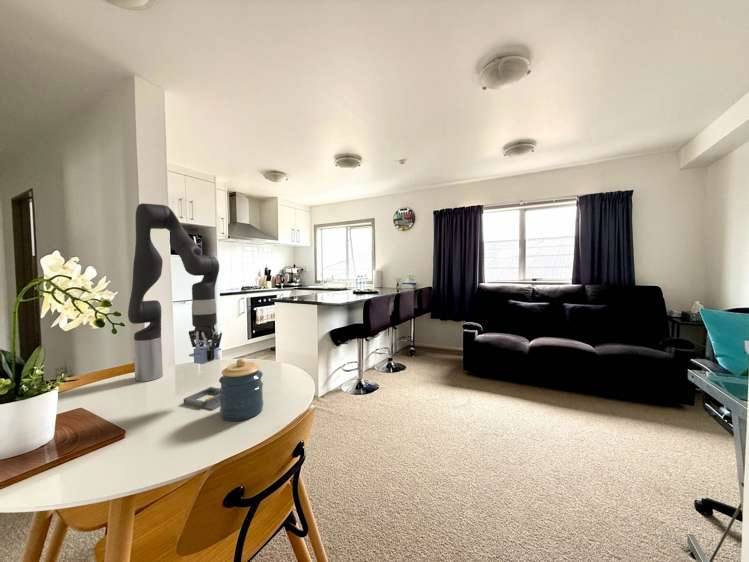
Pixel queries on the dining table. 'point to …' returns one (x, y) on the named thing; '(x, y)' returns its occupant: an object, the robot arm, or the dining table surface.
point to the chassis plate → (208, 403)
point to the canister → (241, 391)
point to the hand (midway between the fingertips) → (206, 359)
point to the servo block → (202, 354)
